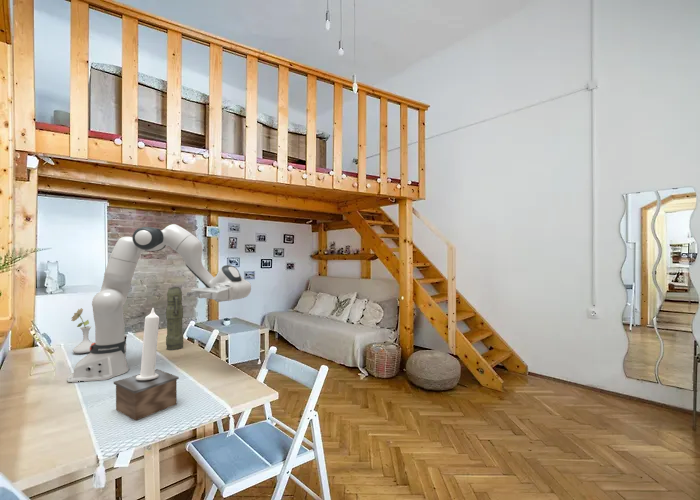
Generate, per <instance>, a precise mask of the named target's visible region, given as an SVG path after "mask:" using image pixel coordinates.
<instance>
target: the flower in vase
mask: <svg viewBox="0 0 700 500" xmlns="http://www.w3.org/2000/svg"><path fill="white" fill-rule="evenodd" d="M83 311H84V309H83V308H78V309H77V311H76V312H74V313H73V315H72V317H71V318H70V319H71V321H72V322H75V321H77V319H79V318H80V320H81V322H80V323H78V324H77V326H76V327H77V328H79V327H80V328H79V329H80V330H81V332H82V335H83V336H82V337H83V338H82V341H81V342H80V343H79V344H78V345H76V346H75V347H74V348H73V349H72V352H73V353H74V354H89V353H91V352H90V346H91V344H92V343H94V342H92V341H91V340H90V339H89V332H90V329H91V328H92V326H91V325H90V326H88V325H89V324H90V321H89V319H87V320H85V321H84V320H83V318H82V316H81V315H82V314H83ZM82 325H83V326H82Z"/></svg>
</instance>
